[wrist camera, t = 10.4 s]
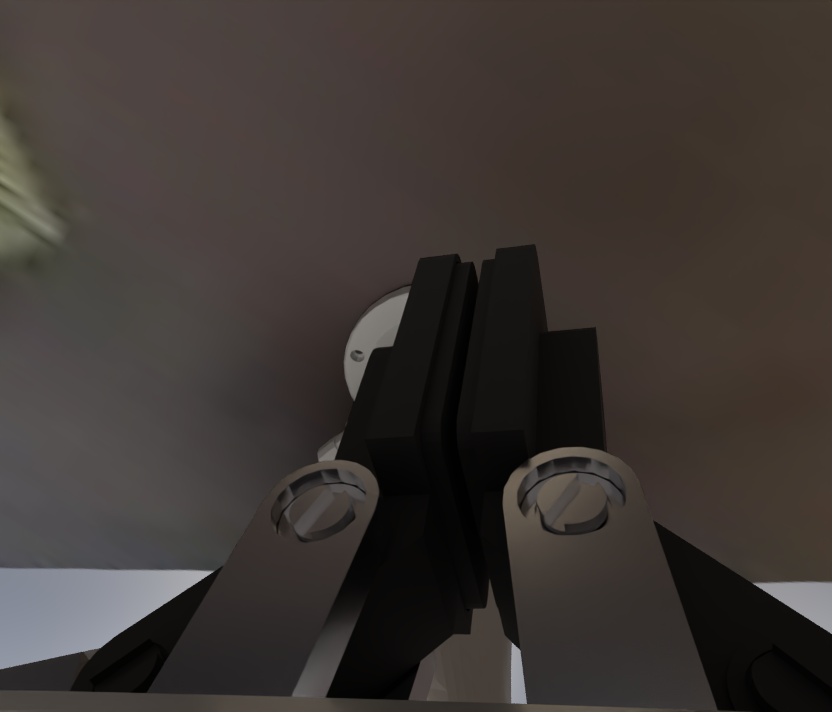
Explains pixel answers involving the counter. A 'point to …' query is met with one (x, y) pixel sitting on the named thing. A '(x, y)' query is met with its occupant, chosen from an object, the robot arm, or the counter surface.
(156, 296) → the counter surface
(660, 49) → the counter surface
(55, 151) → the counter surface
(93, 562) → the counter surface
